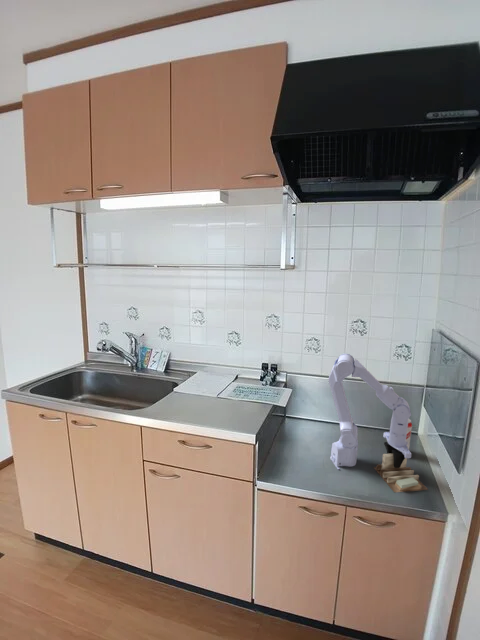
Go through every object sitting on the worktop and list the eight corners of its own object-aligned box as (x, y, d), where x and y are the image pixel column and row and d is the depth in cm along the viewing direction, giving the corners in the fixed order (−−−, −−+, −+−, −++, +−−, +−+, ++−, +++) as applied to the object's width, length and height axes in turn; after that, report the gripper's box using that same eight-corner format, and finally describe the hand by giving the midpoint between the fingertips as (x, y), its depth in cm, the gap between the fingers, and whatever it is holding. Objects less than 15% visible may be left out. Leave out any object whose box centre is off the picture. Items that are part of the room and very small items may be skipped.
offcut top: (401, 488, 116) (402, 485, 116) (396, 483, 118) (396, 480, 118) (417, 484, 118) (418, 481, 118) (412, 480, 120) (412, 477, 120)
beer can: (409, 460, 136) (414, 424, 133) (393, 458, 137) (398, 422, 134) (405, 451, 142) (410, 416, 139) (389, 449, 143) (394, 415, 140)
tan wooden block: (383, 473, 126) (385, 456, 124) (381, 470, 127) (383, 453, 126) (405, 471, 127) (407, 455, 126) (402, 468, 129) (404, 452, 127)
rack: (394, 494, 116) (395, 487, 115) (372, 469, 129) (373, 462, 129) (428, 492, 118) (429, 484, 117) (403, 467, 131) (404, 460, 131)
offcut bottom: (400, 490, 116) (400, 487, 116) (395, 485, 119) (395, 482, 119) (421, 489, 118) (421, 486, 117) (415, 483, 120) (415, 480, 120)
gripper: (421, 441, 117) (416, 475, 120) (396, 421, 132) (392, 452, 134) (402, 442, 116) (398, 477, 119) (380, 422, 131) (376, 453, 133)
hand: (394, 464), depth 127 cm, fingers open, 3 cm apart
